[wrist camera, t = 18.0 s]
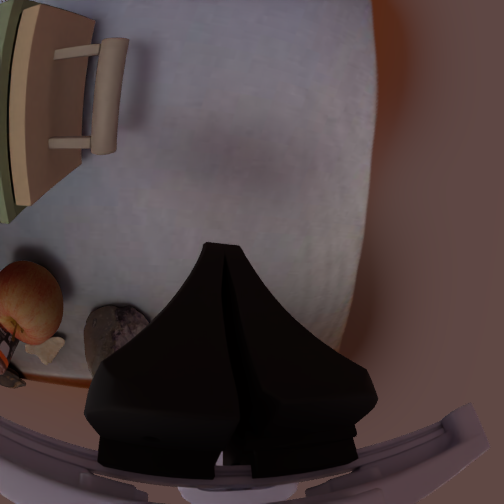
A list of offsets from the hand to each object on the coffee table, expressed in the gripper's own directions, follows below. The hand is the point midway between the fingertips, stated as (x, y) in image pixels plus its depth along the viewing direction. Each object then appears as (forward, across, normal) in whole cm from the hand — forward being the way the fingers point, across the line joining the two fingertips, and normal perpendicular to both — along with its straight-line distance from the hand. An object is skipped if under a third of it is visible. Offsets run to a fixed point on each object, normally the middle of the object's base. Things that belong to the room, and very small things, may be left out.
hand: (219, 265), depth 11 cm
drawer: (+10, +14, -6) cm, 18 cm away
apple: (+11, +17, +12) cm, 23 cm away
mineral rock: (+11, +7, +20) cm, 24 cm away
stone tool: (+10, +24, +28) cm, 38 cm away
